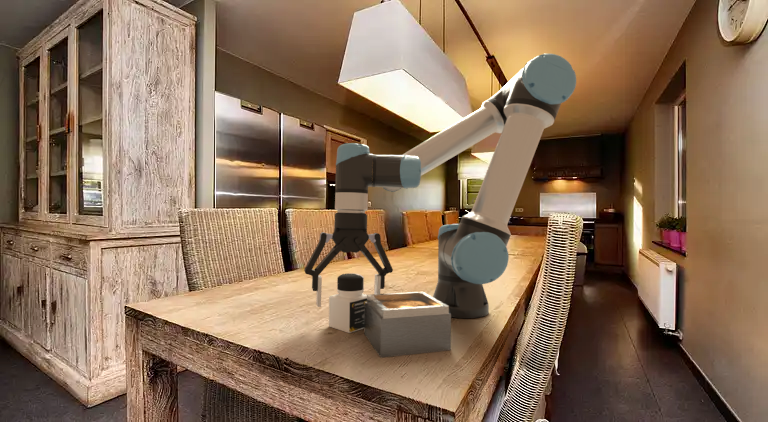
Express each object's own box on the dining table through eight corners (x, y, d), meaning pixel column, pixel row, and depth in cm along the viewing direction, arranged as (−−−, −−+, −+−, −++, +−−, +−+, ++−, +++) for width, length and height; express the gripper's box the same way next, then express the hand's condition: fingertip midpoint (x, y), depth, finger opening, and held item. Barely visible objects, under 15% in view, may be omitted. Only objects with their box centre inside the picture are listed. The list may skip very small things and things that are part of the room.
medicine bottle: (349, 333, 79) (350, 278, 79) (328, 326, 83) (328, 274, 83) (372, 326, 84) (372, 274, 84) (350, 320, 89) (351, 270, 89)
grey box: (424, 328, 82) (425, 291, 82) (450, 350, 70) (451, 305, 70) (364, 334, 79) (364, 294, 79) (380, 357, 66) (380, 310, 66)
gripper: (397, 213, 91) (395, 298, 91) (294, 210, 84) (292, 302, 84) (407, 213, 84) (404, 305, 84) (296, 210, 77) (293, 310, 77)
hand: (348, 304), depth 84 cm, fingers open, 13 cm apart
